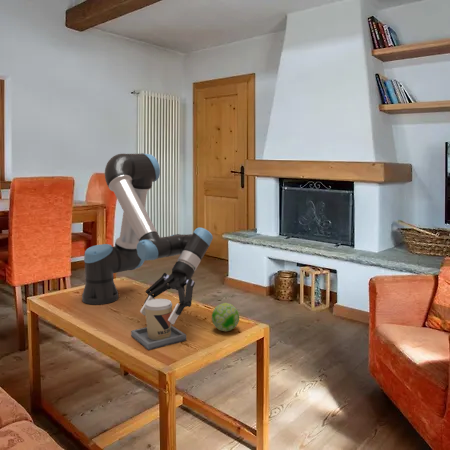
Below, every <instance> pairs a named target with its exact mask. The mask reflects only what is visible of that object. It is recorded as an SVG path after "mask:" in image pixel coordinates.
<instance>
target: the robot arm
mask: <svg viewBox="0 0 450 450" xmlns="http://www.w3.org/2000/svg"><path fill="white" fill-rule="evenodd" d="M160 175H161V167H160V163H159V161H158V159H157V158H156V156H154V155H153V154H152V153H151V154H149V153H143V152H142V153H118V154H114V155H113V156H112V157H111V158H110V159H108V161H107V163H106V165H105V168H104V179H105V180H104V181H105V182H106V186H107V188H108V190H110V191H111V192H113V194H114V195H115V197H116V199H117V202H118V204H119V205H120V207H121V209H122V213H123V214H122V220H121V226H120V233H119V237H117V238H116V240H115V242H114V243H115V244H114V246H112V244H108V243H102V244H96V245H92V246H90V247H88V248H86V250H85V251H84V255H83V256H84V259H83V261H84V273H85V275H84V276H85V283H84V284H85V285H84V287H83V292H82V296H81V299H82V303H83V304H86V305H97V306H98V305H105V304H110V303H113V302H116V301H117V300H118V299H119V292H118V290H117V286H116V283H115V281H114V274H116V273H117V274H118V273H122V272H127V271H133V270H136V269H140V268H141V267H142V266H143V264H144V263H145V261H154V260H158V259H162V258H169V257H173V256H179V257H178V258H177V261H176V262H175V264H174V265H173V267H172V268H171V274H170V275H169V274H167V273H166V272H163V274H162V275H161V276H160V277H159V278H158V279H157V281H155V282H154V283H153V284H151V286H149V287H148V288H147V289H146V291H145V293H146V295H147V297H146V299H145V300H144V302H143V306H142V307H141V309H140V310H139V312H140V314H141V315H143V316H145V317H146V313H145V303H146V302H147V301H149V300H152V299H156V298H157V297H158V296H160V295H161V294H162V293H164V292H167V290H176V291H177V293H178V303H176V304H175V307H174V308H173V309H172V313H171V315H170V317H169V319H168V321H169V322H170V323H171V325H172V326H174V325H175V324H176V321H177V319H178V317H179V316H181V315H182V313H183V312H184V309H185V308H186V307H188V308H190V307H192V302H193V301H192V299H193V291H194V287H195V285H196V283H195V281H194V279H192V278H193V276H194V274H195V271H197V269H198V266H199V265H200V263H201V262H202V259H203V258H204V256H205V254H206V253H207V251H208V250H209V247H210V245H211V244H212V241H213V238H214V237H213V234H212V233H211V232H210V231H209V230H208V229H206V228H204V227H197V228H195V230H193V232H192V234H191V233H190V234H189V233H188V234H180V233H177V234H171V235H167V236H161V237H160V235H159V233H158V231H157V229H156V227H155V225H154V223H153V222H152V220H151V218H150V216H149V215H148V213H147V210H146V208H145V207H146V201H147V195H148V191H150V190H151V189H152V186H153V182H157V180H159V179H160ZM185 286H186V287H185Z"/></svg>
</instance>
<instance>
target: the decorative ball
mask: <svg viewBox="0 0 450 450" xmlns="http://www.w3.org/2000/svg"><path fill="white" fill-rule="evenodd" d="M211 322H212V324H213V326H214V327H215V328H216V329H218V330H219V331H222V332H230V331H232V330H233V329H235V328H236V327H237V326H238V324H239V322H240V312H239V310H238V309H237V307H235V306H234V304H232V303H228V302H222V303H219V304H217V305H216V306H215V308H214V309H213V310H212V313H211Z"/></svg>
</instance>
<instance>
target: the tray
mask: <svg viewBox="0 0 450 450" xmlns="http://www.w3.org/2000/svg"><path fill="white" fill-rule="evenodd" d="M130 335H131V337H132V338H133V339H134V340H135V341H136V342H137V343H139V344H140V345H141V346H143V347H144V348H145V349H146V350H148V351H150V350H155V349H159V348H162V347H166V346H170V345H174V344H178V343H181V342H186V341H187V334H186V333H184V332H183V331H181V329H178V328H176V327H175V326H174V325H173V324H171V336H170V337H169V338H166V339H162V340H158V341H155V340H151V339H149V338H148V332H147V326H146V327H141V328H138V329H132V330H130Z"/></svg>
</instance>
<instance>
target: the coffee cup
mask: <svg viewBox="0 0 450 450" xmlns="http://www.w3.org/2000/svg"><path fill="white" fill-rule="evenodd" d="M172 312H173V303H172V301H171V300H170V299H167V298H154V299H152V300H149V301H147V302H146V303H145V313H146V316H145V321H146V327H147V332H148V338H149V339H151V340H155V341H158V340H162V339H166V338H169V337H170V336H171V325H172V324H171V323H170V322H169V321H168V319H169V317H170V315H171V313H172Z"/></svg>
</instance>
